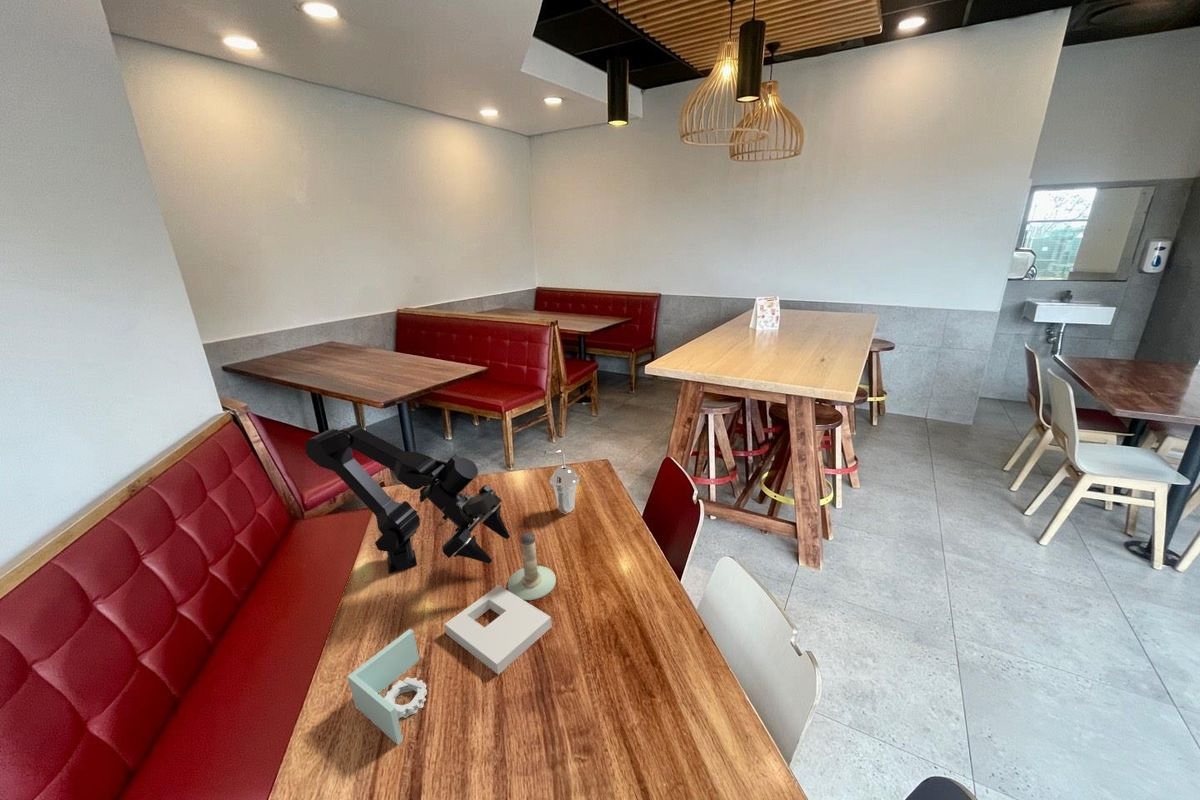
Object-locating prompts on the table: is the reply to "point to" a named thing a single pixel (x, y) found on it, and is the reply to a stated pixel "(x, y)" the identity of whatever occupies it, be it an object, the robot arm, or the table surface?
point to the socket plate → (498, 628)
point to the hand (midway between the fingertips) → (500, 549)
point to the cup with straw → (564, 485)
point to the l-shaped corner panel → (380, 676)
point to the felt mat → (537, 592)
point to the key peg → (529, 561)
